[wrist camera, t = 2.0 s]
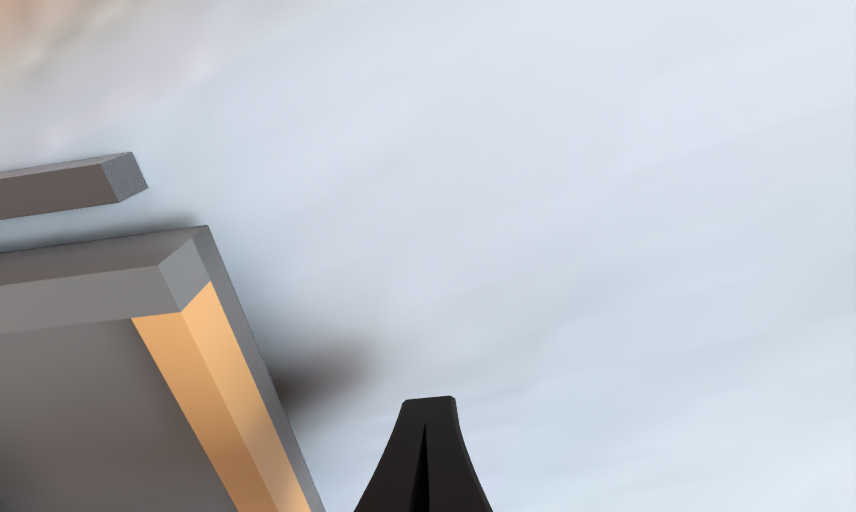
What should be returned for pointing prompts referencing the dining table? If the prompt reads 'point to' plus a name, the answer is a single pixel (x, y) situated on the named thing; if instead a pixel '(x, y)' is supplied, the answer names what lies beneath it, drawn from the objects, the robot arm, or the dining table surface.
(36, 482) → the grey shallow tray
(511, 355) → the dining table surface
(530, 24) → the dining table surface
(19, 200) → the track
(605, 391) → the dining table surface
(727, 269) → the dining table surface
